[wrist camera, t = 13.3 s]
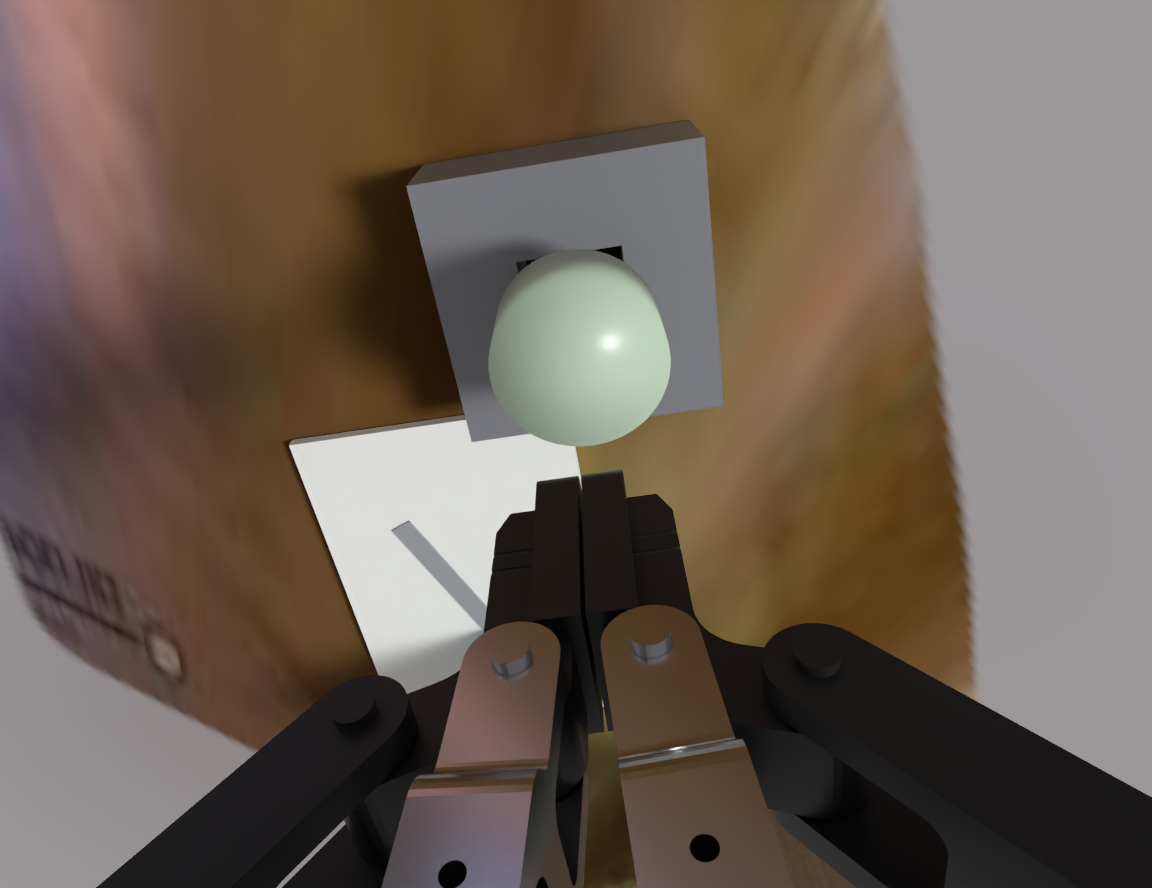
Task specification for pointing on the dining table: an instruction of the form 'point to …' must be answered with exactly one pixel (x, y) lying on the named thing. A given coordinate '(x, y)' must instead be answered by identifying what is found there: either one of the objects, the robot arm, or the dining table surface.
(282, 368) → the dining table surface
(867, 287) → the dining table surface
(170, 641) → the dining table surface
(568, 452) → the pad
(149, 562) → the dining table surface
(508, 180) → the button housing
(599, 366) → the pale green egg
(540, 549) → the robot arm
